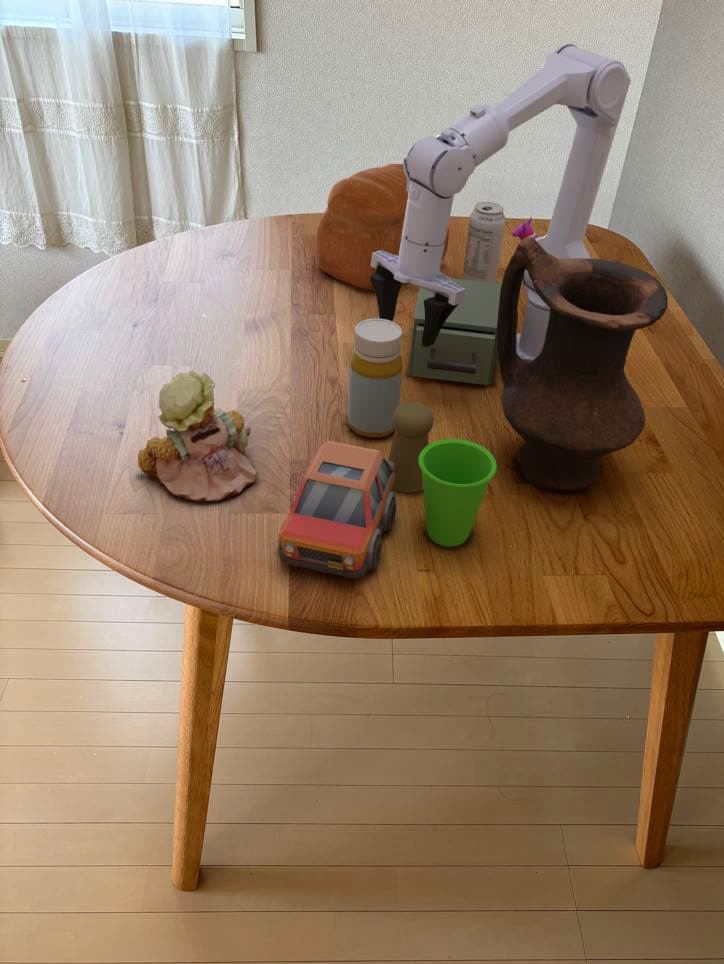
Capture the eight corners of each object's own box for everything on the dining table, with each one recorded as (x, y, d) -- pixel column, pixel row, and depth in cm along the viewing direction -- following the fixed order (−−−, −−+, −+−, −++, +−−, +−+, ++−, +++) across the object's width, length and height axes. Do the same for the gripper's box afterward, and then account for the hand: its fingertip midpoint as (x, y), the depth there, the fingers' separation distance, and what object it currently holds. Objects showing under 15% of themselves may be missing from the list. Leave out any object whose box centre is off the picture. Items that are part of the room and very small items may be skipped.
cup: (407, 509, 114) (415, 437, 107) (478, 510, 115) (490, 438, 108) (414, 558, 107) (422, 485, 100) (489, 558, 109) (503, 485, 101)
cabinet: (491, 385, 138) (500, 328, 132) (408, 375, 138) (414, 318, 132) (493, 338, 149) (502, 283, 143) (417, 329, 149) (422, 274, 143)
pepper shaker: (425, 496, 116) (433, 425, 109) (379, 488, 117) (384, 416, 110) (433, 469, 121) (442, 399, 114) (389, 461, 122) (395, 390, 114)
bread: (454, 266, 168) (465, 174, 157) (377, 302, 156) (382, 204, 144) (384, 236, 176) (389, 146, 165) (305, 267, 163) (305, 172, 152)
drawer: (486, 402, 133) (494, 355, 128) (409, 393, 133) (413, 345, 128) (490, 341, 146) (497, 296, 141) (420, 333, 147) (424, 288, 142)
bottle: (404, 419, 129) (413, 324, 119) (386, 445, 124) (393, 348, 114) (359, 407, 131) (364, 312, 121) (339, 432, 126) (343, 335, 116)
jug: (641, 452, 128) (703, 247, 108) (608, 527, 114) (672, 310, 95) (500, 410, 133) (534, 207, 113) (453, 477, 120) (483, 261, 100)
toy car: (269, 572, 104) (267, 504, 97) (313, 486, 116) (314, 420, 110) (367, 593, 102) (371, 526, 96) (401, 503, 115) (407, 438, 108)
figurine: (233, 429, 124) (229, 334, 114) (280, 488, 117) (280, 392, 106) (127, 461, 117) (112, 363, 107) (169, 525, 110) (158, 427, 99)
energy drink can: (501, 293, 162) (514, 210, 152) (477, 301, 158) (488, 217, 149) (478, 280, 165) (489, 197, 155) (454, 288, 162) (463, 204, 152)
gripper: (362, 224, 119) (349, 320, 127) (449, 263, 113) (430, 362, 121) (395, 215, 123) (381, 309, 132) (481, 253, 117) (460, 348, 126)
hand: (406, 333), depth 127 cm, fingers open, 7 cm apart
